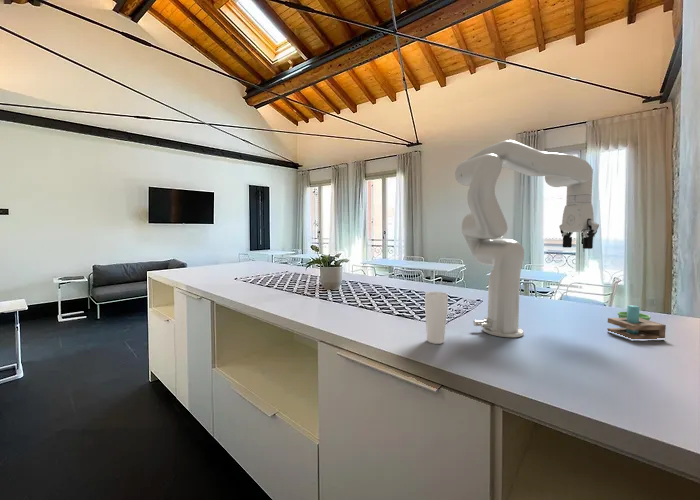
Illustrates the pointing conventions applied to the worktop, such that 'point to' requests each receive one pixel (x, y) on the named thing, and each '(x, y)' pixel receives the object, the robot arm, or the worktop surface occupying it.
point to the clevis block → (638, 328)
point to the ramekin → (643, 316)
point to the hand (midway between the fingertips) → (576, 248)
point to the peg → (632, 317)
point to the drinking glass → (436, 316)
